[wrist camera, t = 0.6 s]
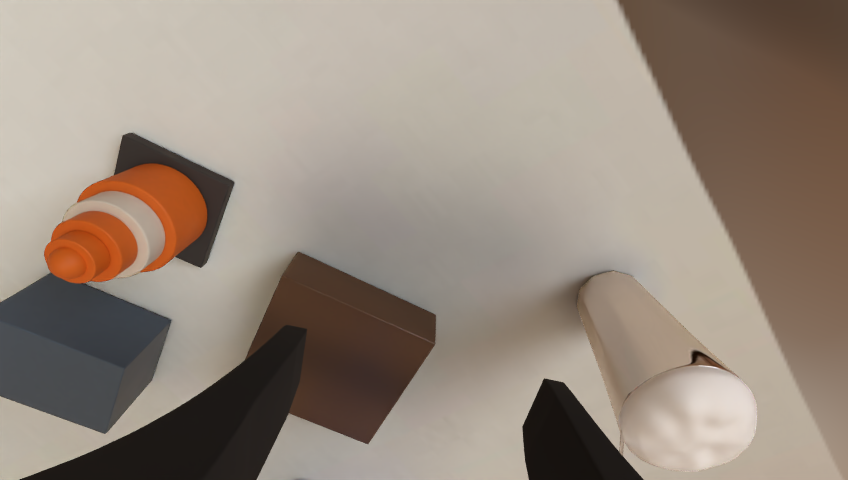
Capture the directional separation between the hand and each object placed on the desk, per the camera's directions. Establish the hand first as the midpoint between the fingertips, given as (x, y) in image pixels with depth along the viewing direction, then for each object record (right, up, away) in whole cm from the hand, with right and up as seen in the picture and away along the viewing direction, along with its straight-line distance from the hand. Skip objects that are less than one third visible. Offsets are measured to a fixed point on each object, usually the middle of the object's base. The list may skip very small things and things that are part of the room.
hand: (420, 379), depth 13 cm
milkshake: (+9, +1, +10) cm, 14 cm away
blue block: (-18, -1, +12) cm, 22 cm away
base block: (-5, -1, +11) cm, 12 cm away
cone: (-12, +6, +8) cm, 16 cm away
